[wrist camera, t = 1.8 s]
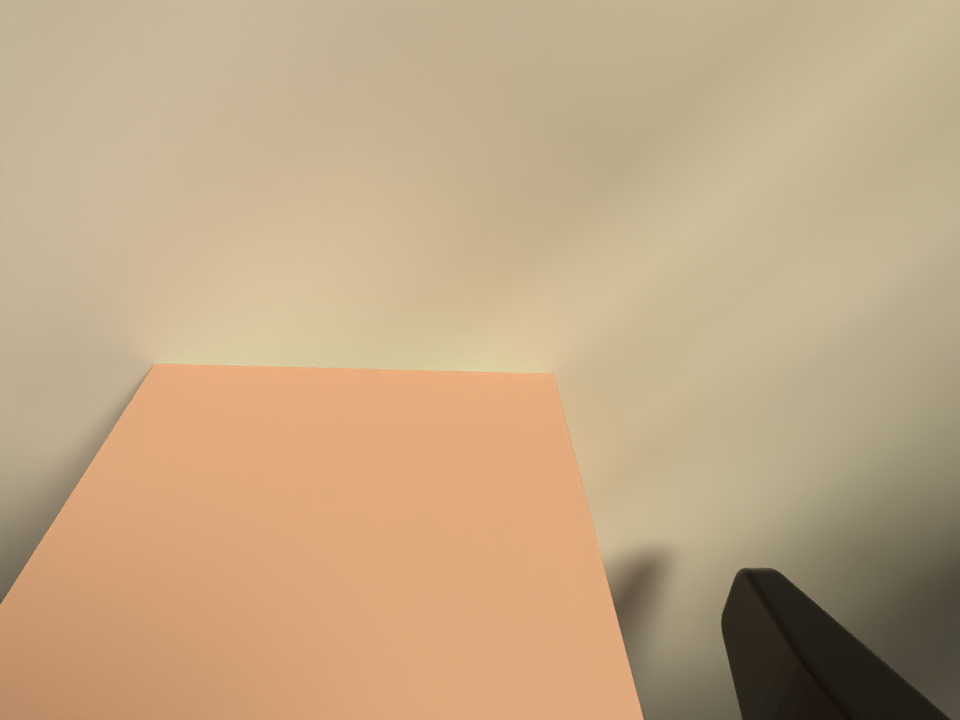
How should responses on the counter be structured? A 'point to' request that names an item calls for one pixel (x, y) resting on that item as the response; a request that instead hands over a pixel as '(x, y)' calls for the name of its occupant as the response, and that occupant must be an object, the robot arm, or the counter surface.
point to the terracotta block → (322, 558)
